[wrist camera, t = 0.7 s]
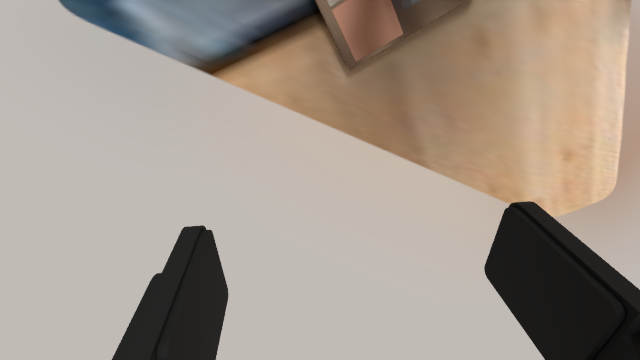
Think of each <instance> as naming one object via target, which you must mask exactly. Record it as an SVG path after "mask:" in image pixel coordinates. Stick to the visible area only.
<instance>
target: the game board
mask: <svg viewBox="0 0 640 360" xmlns="http://www.w3.org/2000/svg"><path fill="white" fill-rule="evenodd" d="M466 1H468V0H315V2H316V4H317V6H318V8H319V10H320V12H321V14H322V16H323V18H324V20H325V22H326V25H327V27H328V29H329V31H330V33H331V35H332V37H333V39H334V41H335V43H336V45H337V47H338V49H339V51H340V53H341V56H342V58H343V60H344V62H345V64H346V66H347V68H348V69H349V70H351V69H352V68H354V67H356V66H357V65H359V64H361V63H362V62H364V61H366V60H367V59H369V58H371V57H373V56H374V55H376V54H378V53H379V52H381V51H383V50H384V49H386V48H388V47H390V46H391V45H393V44H395V43H396V42H398V41H400V40H401V39H403V38H405V37H407V36H408V35H410V34H412V33H413V32H415V31H417V30H418V29H420V28H422V27H423V26H425V25H427V24H429V23H430V22H432V21H434V20H435V19H437V18H439V17H440V16H442V15H444V14H446V13H447V12H449V11H451V10H452V9H454V8H456V7H457V6H459V5H461V4H463V3H464V2H466Z"/></svg>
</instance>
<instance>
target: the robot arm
mask: <svg viewBox="0 0 640 360" xmlns="http://www.w3.org/2000/svg"><path fill="white" fill-rule="evenodd" d="M485 274H486V276H487V278H488V280H489V281H490V282H491V284H492V285H493V287H494V288H495V289H496V291H497V292H498V294H499V295H500V296H501V298H502V299H503V301H504V302H505V303H506V305H507V306H508V308H509V309H510V311H511V312H512V313H513V315H514V316H515V318H516V319H517V321H518V322H519V323H520V325H521V326H522V327H523V329H524V330H525V332H526V333H527V335H528V336H529V337H530V339H531V340H532V342H533V343H534V344H535V346H536V347H537V349H538V350H539V352H540V353H541V354H542V356H543V357H544V359H545V360H640V290H639V289H638V288H637V287H635V286H634V285H633V284H632V283H631V282H630V281H628V280H627V279H626V278H625V277H624V276H622V275H621V274H620V273H619V272H618V271H616V270H615V269H614V268H613V267H611V266H610V265H609V264H608V263H607V262H606V261H604V260H603V259H602V258H601V257H599V256H598V255H597V254H596V253H595V252H593V251H592V250H591V249H590V248H589V247H588V246H586V245H585V244H584V243H582V242H581V241H580V240H579V239H578V238H577V237H575V236H574V235H573V234H572V233H571V232H569V231H568V230H567V229H566V228H565V227H564V226H562V225H561V224H560V223H559V222H557V221H556V220H555V219H554V218H553V217H552V216H550V215H549V214H548V213H547V212H546V211H544V210H543V209H542V208H541V207H540V206H538V205H537V204H536V203H534V202H516V203H512V204H510V205H509V207H508V208H506V209H505V211H504V213H503V216H502V219H501V222H500V225H499V228H498V230H497V233H496V236H495V239H494V242H493V244H492V247H491V250H490V253H489V256H488V259H487V261H486V264H485ZM227 301H228V288H227V284H226V281H225V277H224V273H223V270H222V266H221V262H220V259H219V255H218V251H217V248H216V244H215V240H214V236H213V233H212V231H211V230H206V228H205V226H192V227H184V228H183V229H182V231H181V233H180V235H179V237H178V240H177V242H176V244H175V246H174V248H173V250H172V252H171V254H170V257H169V259H168V261H167V263H166V265H165V267H164V269H163V272H162V273H158V274H156V275H155V276H154V277H153V278H152V280H151V281H150V283H149V285H148V287H147V289H146V291H145V294H144V296H143V297H142V299H141V302H140V304H139V306H138V308H137V310H136V312H135V314H134V316H133V318H132V320H131V322H130V324H129V326H128V328H127V330H126V332H125V334H124V336H123V338H122V340H121V343H120V344H119V346H118V348H117V350H116V352H115V354H114V356H113V359H112V360H216V355H217V350H218V345H219V340H220V335H221V330H222V326H223V321H224V316H225V311H226V306H227Z"/></svg>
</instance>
